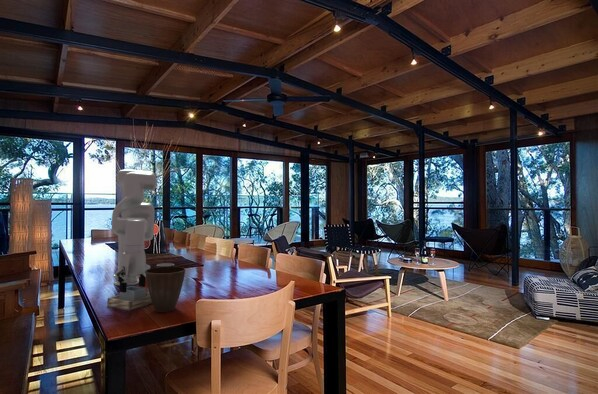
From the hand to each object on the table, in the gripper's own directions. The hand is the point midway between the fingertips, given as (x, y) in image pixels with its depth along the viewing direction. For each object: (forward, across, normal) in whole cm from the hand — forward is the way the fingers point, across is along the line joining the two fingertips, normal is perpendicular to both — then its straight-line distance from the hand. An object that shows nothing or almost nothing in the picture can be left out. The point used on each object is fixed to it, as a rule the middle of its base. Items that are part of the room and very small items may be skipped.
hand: (132, 289), depth 141 cm
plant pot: (+6, 0, +17) cm, 18 cm away
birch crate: (+6, +1, +1) cm, 6 cm away
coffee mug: (+7, -33, -15) cm, 37 cm away
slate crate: (+6, 0, +1) cm, 6 cm away
